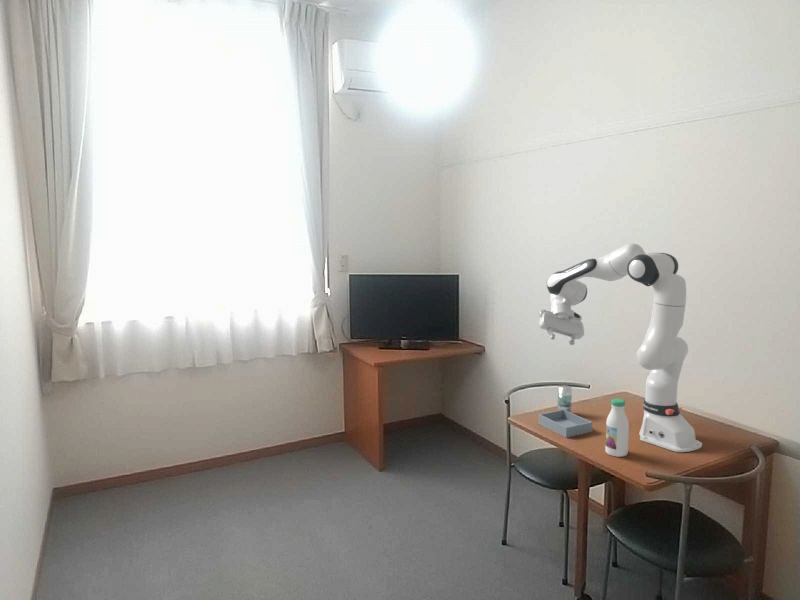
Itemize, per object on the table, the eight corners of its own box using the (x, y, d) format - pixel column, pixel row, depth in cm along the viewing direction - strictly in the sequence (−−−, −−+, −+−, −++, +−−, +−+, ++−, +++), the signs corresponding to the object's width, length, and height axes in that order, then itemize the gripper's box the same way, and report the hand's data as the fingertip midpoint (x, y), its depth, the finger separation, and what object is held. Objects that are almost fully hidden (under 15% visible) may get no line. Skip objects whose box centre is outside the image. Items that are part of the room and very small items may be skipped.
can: (574, 414, 243) (574, 388, 241) (563, 416, 241) (564, 390, 239) (565, 410, 248) (565, 384, 246) (555, 412, 246) (555, 386, 244)
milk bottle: (624, 448, 206) (626, 396, 203) (630, 457, 199) (632, 403, 196) (602, 448, 207) (604, 396, 204) (608, 457, 200) (610, 403, 197)
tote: (592, 431, 223) (592, 422, 223) (566, 437, 218) (566, 427, 217) (563, 418, 239) (563, 409, 238) (538, 423, 233) (538, 414, 233)
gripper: (543, 304, 243) (544, 331, 235) (585, 317, 246) (587, 344, 239) (536, 312, 248) (536, 338, 240) (577, 324, 251) (579, 350, 244)
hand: (562, 341), depth 239 cm, fingers open, 8 cm apart
